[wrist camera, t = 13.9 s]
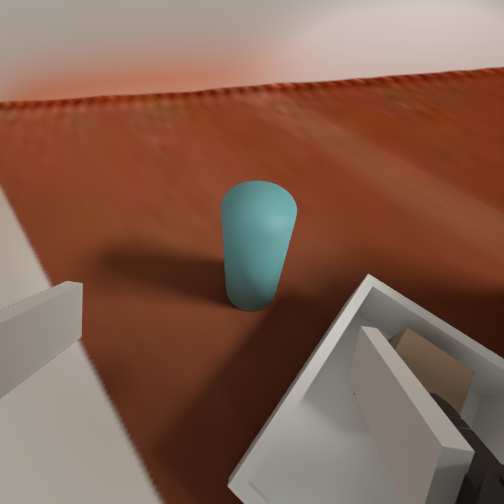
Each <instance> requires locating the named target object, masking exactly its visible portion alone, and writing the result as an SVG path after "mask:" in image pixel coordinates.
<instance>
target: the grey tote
mask: <svg viewBox="0 0 504 504" xmlns="http://www.w3.org/2000/svg"><path fill="white" fill-rule="evenodd" d="M361 326H365V327H372V328H378V330H379V331H380V332H381V334H382V335H383V336H384V337H385V339H386V340H389V339H390V338H392V337H393V336H395V335H396V334H398V333H399V332H401V331H402V330H404V329H405V328H407V327H408V328H410V329H411V330H413V331H414V332H416V333H417V334H419V335H420V336H422V337H423V338H425V339H426V340H428V341H429V342H431V343H432V344H434V345H435V346H437V347H438V348H440V349H441V350H443V351H444V352H446V353H447V354H449V355H450V356H452V357H453V358H455V359H456V360H458V361H459V362H461V363H462V364H464V365H465V366H467V367H468V368H470V369H471V370H473V371H474V372H475V373H474V376H473V379H472V382H471V385H470V388H469V391H468V393H467V396H466V399H465V402H464V405H463V408H462V410H461V413H460V416H461V419H463V420H464V421H465V422H466V423H467V424H468V425H469V427H470V430H473V431H474V433H475V434H476V435H477V436H478V437H479V438H480V440H481V441H482V442H483V443H484V444H485V445H486V447H487V448H488V449H489V450H490V451H491V452H492V454H493V455H494V456H495V457H496V458H497V460H498V461H499V462H500V463H501V464H503V465H504V359H503V358H502V357H500V356H498V355H497V354H495V353H494V352H492V351H490V350H489V349H487V348H486V347H484V346H482V345H481V344H479V343H478V342H476V341H474V340H473V339H471V338H470V337H468V336H467V335H465V334H463V333H462V332H460V331H459V330H457V329H455V328H454V327H452V326H451V325H449V324H447V323H446V322H444V321H443V320H441V319H439V318H438V317H436V316H435V315H433V314H432V313H430V312H428V311H427V310H425V309H424V308H422V307H420V306H419V305H417V304H416V303H414V302H412V301H411V300H409V299H408V298H406V297H404V296H403V295H401V294H400V293H398V292H397V291H395V290H393V289H392V288H390V287H389V286H387V285H385V284H384V283H382V282H381V281H379V280H377V279H376V278H374V277H373V276H371V275H369V274H368V275H367V276H366V277H365V279H364V280H363V281H362V282H361V284H360V285H359V286H358V287H357V289H356V290H355V291H354V293H353V294H352V295H351V296H350V298H349V299H348V300H347V302H346V303H345V304H344V306H343V307H342V309H341V310H340V312H339V313H338V315H337V316H336V318H335V319H334V321H333V322H332V324H331V325H330V327H329V328H328V330H327V331H326V333H325V334H324V336H323V337H322V339H321V340H320V342H319V343H318V345H317V346H316V348H315V349H314V351H313V352H312V354H311V355H310V357H309V358H308V360H307V361H306V363H305V364H304V366H303V367H302V369H301V370H300V372H299V373H298V375H297V376H296V378H295V379H294V381H293V382H292V384H291V385H290V387H289V388H288V390H287V391H286V393H285V394H284V396H283V397H282V399H281V400H280V402H279V403H278V405H277V406H276V408H275V409H274V411H273V412H272V414H271V415H270V417H269V418H268V420H267V421H266V423H265V424H264V426H263V427H262V429H261V430H260V432H259V433H258V435H257V436H256V437H255V439H254V440H253V442H252V443H251V445H250V446H249V448H248V449H247V451H246V452H245V454H244V455H243V457H242V458H241V460H240V461H239V463H238V464H237V466H236V467H235V469H234V470H233V472H232V473H231V475H230V476H229V481H228V487H229V489H230V490H231V491H232V492H233V493H234V494H235V495H236V496H237V497H238V498H239V499H240V500H241V501H242V502H243V503H244V504H401V502H400V500H399V498H398V495H397V493H396V490H395V488H394V486H393V483H392V481H391V479H390V476H389V474H388V471H387V469H386V467H385V464H384V462H383V460H382V457H381V455H380V452H379V450H378V448H377V445H376V443H375V440H374V438H373V436H372V433H371V431H370V429H369V426H368V424H367V421H366V419H365V417H364V414H363V412H362V410H361V407H360V405H359V402H358V400H357V398H356V396H355V395H354V394H353V393H354V391H353V388H352V386H351V383H350V381H349V375H350V371H351V366H352V362H353V358H354V353H355V349H356V344H357V340H358V336H359V331H360V327H361Z"/></svg>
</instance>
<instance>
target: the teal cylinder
mask: <svg viewBox="0 0 504 504" xmlns="http://www.w3.org/2000/svg"><path fill="white" fill-rule="evenodd" d="M221 212H222V231H223V249H224V267H225V285H226V294H227V297H228V299H229V300H230V302H231V303H232V304H233V305H234V306H236V307H237V308H239V309H241V310H244V311H258V310H261V309H264V308H265V307H267V306H268V305H269V304H270V303H271V302H272V300H273V299H274V296H275V293H276V289H277V286H278V282H279V278H280V275H281V271H282V267H283V264H284V260H285V256H286V253H287V249H288V245H289V242H290V238H291V234H292V231H293V227H294V223H295V220H296V215H297V207H296V203H295V201H294V199H293V197H292V196H291V195H290V194H289V193H288V192H287V191H286V190H285V189H283V188H282V187H280V186H278V185H276V184H274V183H270V182H266V181H248V182H244V183H241V184H239V185H236V186H235V187H233V188H232V189H230V190H229V191H228V192H227V194H226V195H225V197H224V198H223V201H222V205H221Z"/></svg>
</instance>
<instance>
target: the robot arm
mask: <svg viewBox="0 0 504 504" xmlns="http://www.w3.org/2000/svg"><path fill="white" fill-rule="evenodd" d="M82 291H83V283H77V282H70V281H66V282H63V283H61V284H59V285H57V286H54V287H52V288H50V289H47V290H45V291H43V292H40V293H38V294H36V295H34V296H31V297H29V298H27V299H24V300H22V301H20V302H18V303H15V304H13V305H11V306H8V307H6V308H4V309H1V310H0V399H1V398H2V397H3V396H4V395H5V394H7V393H8V392H10V391H11V390H12V389H13V388H15V387H16V386H18V385H19V384H20V383H21V382H23V381H24V380H25V379H27V378H28V377H29V376H30V375H32V374H33V373H35V372H36V371H37V370H38V369H40V368H41V367H42V366H44V365H45V364H46V363H48V362H49V361H50V360H52V359H53V358H54V357H56V356H57V355H58V354H59V353H61V352H62V351H63V350H65V349H66V348H67V347H68V346H70V345H71V344H73V343H74V342H75V341H76V340H78V339H79V338H80V337H81V335H82ZM349 381H350V383H351V386H352V388H353V391H354V393H355V395H356V398H357V400H358V402H359V405H360V407H361V410H362V412H363V414H364V417H365V419H366V421H367V424H368V426H369V429H370V431H371V433H372V436H373V438H374V440H375V443H376V445H377V448H378V450H379V452H380V455H381V457H382V460H383V462H384V464H385V467H386V469H387V471H388V474H389V476H390V479H391V481H392V483H393V486H394V488H395V490H396V493H397V495H398V498H399V500H400V502H401V504H504V465H503V464H501V463H500V462H499V461H498V460H497V458H496V457H495V456H494V455H493V454H492V452H491V451H490V450H489V449H488V448H487V447H486V445H485V444H484V443H483V442H482V441H481V440H480V438H479V437H478V436H477V435H476V434H475V433H474V431H473V430H470V427H469V425H468V424H467V423H466V422H465V421H464V420H463V419H461V416H460V415H459V414H458V413H457V411H456V410H455V409H454V408H453V407H452V406H451V405H450V404H449V403H448V402H446V401H445V400H444V399H443V398H441V397H440V396H439V395H437V394H435V393H428V392H427V390H426V389H425V388H424V387H423V385H422V384H421V383H420V382H419V380H418V379H417V378H416V377H415V375H414V374H413V373H412V371H411V370H410V369H409V368H408V366H407V365H406V364H405V363H404V361H403V360H402V359H401V358H400V356H399V355H398V354H397V352H396V351H395V350H394V349H393V347H392V346H391V345H390V344H389V342H388V341H387V340H386V339H385V337H384V336H383V335H382V334H381V332H380V331H379V330H378V328H372V327H365V326H361V327H360V331H359V336H358V340H357V344H356V349H355V353H354V358H353V362H352V366H351V371H350V375H349Z"/></svg>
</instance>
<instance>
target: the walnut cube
mask: <svg viewBox="0 0 504 504" xmlns="http://www.w3.org/2000/svg"><path fill="white" fill-rule="evenodd" d="M387 341H388V342H389V344H390V345H391V346H392V347H393V349H394V350H395V351H396V352H397V354H398V355H399V356H400V358H401V359H402V360H403V361H404V363H405V364H406V365H407V366H408V368H409V369H410V370H411V371H412V373H413V374H414V375H415V377H416V378H417V379H418V380H419V382H420V383H421V384H422V385H423V387H424V388H425V389H426V390H427V392H428V393H435V394H437V395H439V396H440V397H441V398H443V399H444V400H445V401H446V402H448V403H449V404H450V405H451V406H452V407H453V408H454V409H455V410H456V411H457V413H458V414H459V415H460V413H461V410H462V408H463V405H464V402H465V399H466V396H467V393H468V391H469V388H470V385H471V382H472V379H473V376H474V373H475V372H474V371H473V370H471V369H470V368H468V367H467V366H465V365H464V364H462V363H461V362H459V361H458V360H456V359H455V358H453V357H452V356H450V355H449V354H447V353H446V352H444V351H443V350H441V349H440V348H438V347H437V346H435V345H434V344H432V343H431V342H429V341H428V340H426V339H425V338H423V337H422V336H420V335H419V334H417V333H416V332H414V331H413V330H411V329H410V328H408V327H407V328H405V329H404V330H402V331H401V332H399V333H398V334H396V335H395V336H393V337H392V338H390V339H389V340H387ZM353 394H354V395H355V393H353ZM355 396H356V395H355Z"/></svg>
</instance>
